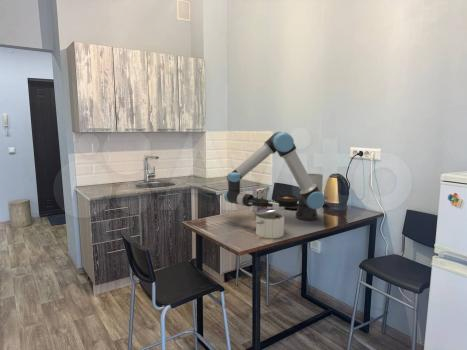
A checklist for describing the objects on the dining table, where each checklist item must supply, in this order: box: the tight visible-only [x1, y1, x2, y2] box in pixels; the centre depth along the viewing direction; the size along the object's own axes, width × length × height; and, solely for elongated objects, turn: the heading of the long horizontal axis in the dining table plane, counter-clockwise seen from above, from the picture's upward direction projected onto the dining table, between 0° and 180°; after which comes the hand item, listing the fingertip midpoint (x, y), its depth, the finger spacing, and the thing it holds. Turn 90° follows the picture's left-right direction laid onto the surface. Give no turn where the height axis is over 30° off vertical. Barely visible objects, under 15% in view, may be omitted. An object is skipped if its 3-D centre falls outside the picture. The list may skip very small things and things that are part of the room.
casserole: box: [273, 194, 299, 210], centre depth 262 cm, size 25×19×8 cm
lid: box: [253, 207, 286, 215], centre depth 196 cm, size 18×17×2 cm
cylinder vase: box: [308, 173, 324, 194], centre depth 265 cm, size 12×12×25 cm
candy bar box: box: [252, 187, 268, 212], centre depth 250 cm, size 11×5×16 cm, turn 138°
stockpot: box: [254, 212, 285, 239], centre depth 198 cm, size 17×23×11 cm
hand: (278, 206), depth 192 cm, fingers closed
